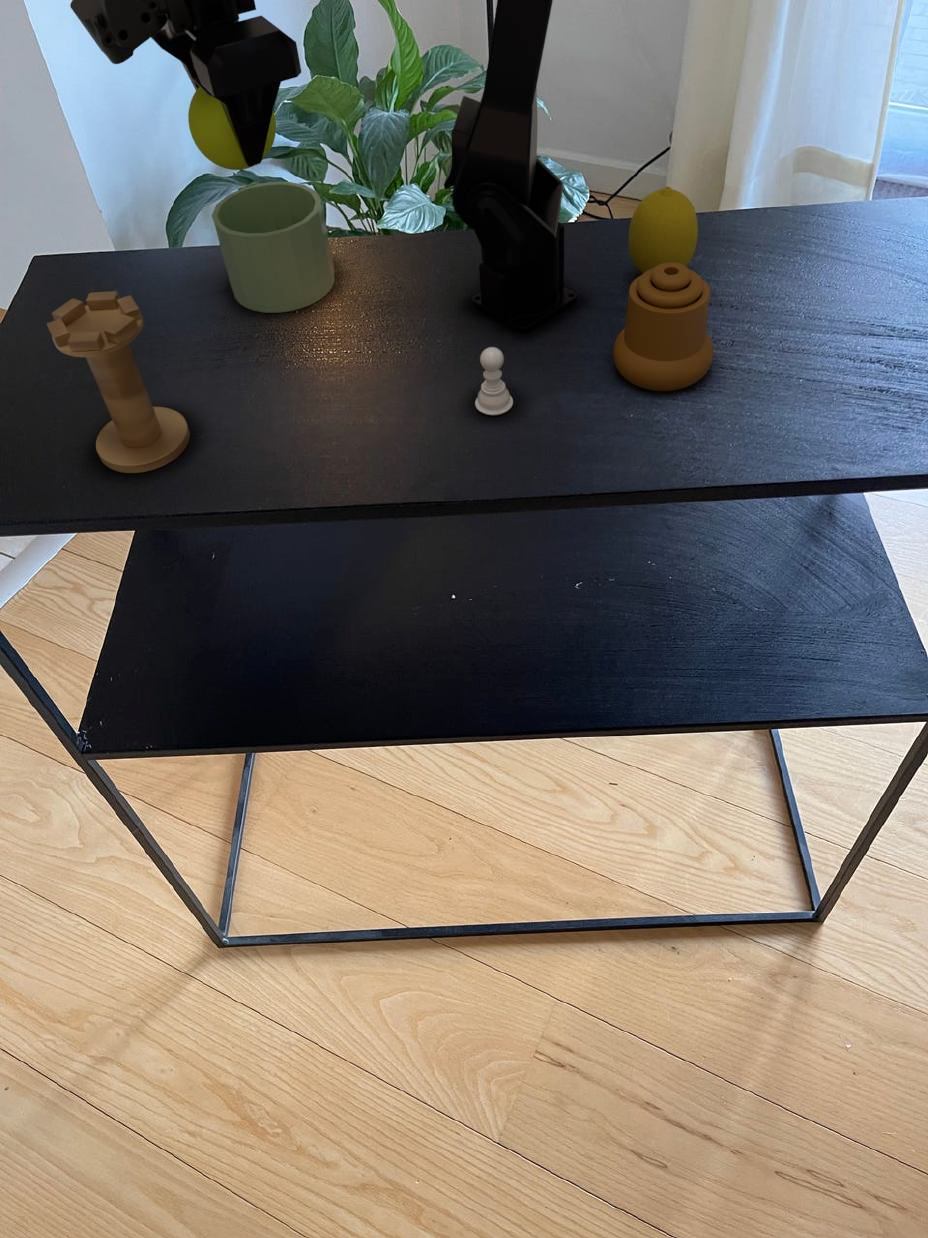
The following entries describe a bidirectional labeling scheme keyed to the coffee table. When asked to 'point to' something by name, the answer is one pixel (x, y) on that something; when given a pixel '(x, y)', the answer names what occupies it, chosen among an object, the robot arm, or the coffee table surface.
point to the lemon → (663, 230)
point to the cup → (275, 246)
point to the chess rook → (119, 382)
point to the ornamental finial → (665, 330)
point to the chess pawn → (493, 384)
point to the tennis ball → (219, 132)
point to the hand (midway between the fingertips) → (239, 148)
